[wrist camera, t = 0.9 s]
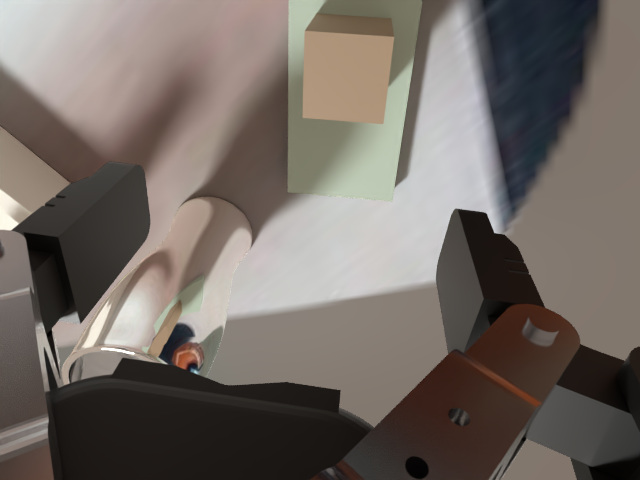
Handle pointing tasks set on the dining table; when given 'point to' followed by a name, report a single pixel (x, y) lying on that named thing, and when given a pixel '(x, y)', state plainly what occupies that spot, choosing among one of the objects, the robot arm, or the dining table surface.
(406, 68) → the shelf board
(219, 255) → the beer glass
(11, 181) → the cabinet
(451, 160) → the dining table surface
